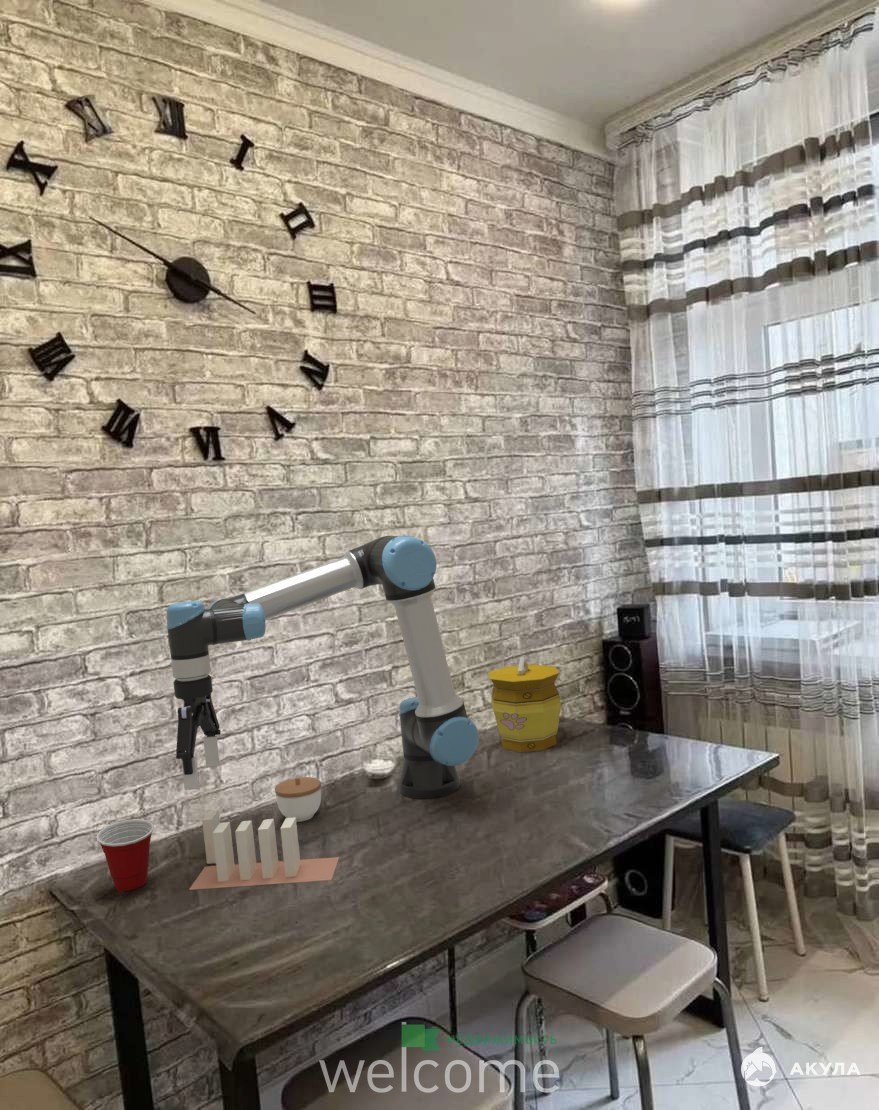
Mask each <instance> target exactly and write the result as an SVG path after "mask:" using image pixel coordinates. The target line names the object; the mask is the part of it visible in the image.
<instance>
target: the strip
mask: <svg viewBox="0 0 879 1110" xmlns="http://www.w3.org/2000/svg"><path fill="white" fill-rule="evenodd" d="M339 860H340V856H337V857H336V856H335V857H320V858H308V859H305V858H304V859H300V863H301V866H300V868H299V870H298V872H297V875H296V877H286V876H285V866H284V860H278V864H279V867H278V869H277V871H276V873H275V875H274V877H273V878H267V879H263V873H262V864H261V862H256V864H257V869H256V871H255V873H254V874H253V876H252V878H251V880H240V871H239V863H237V864H235V863H234V864H235V871H234V872H233V874H232V876H231V877H230V879H229V881H224V882H218V877H217V868H216V865H210V866H209V865H207V866H204V867H203V869H201V870H202V871H200V873H199V874H198V876H197V877H196V879H195V880H194V882H192V885H191V886H190V887H189V888H188V890H189V891H190V890H191V891H195V890H206V889H207V890H208V889H221V888H222V889H224V888H237V887H250V886H251V887H252V886H266V885H279V884H280V885H282V884H292V883H293V884H296V883H308V882H309V883H311V882H322V881H323V882H324V881H332V879H333V877H334V874H335V871H336V868H337V866H338V862H339Z"/></svg>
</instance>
